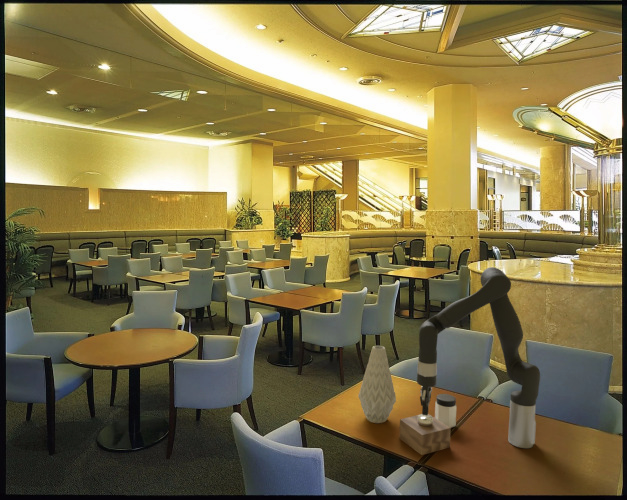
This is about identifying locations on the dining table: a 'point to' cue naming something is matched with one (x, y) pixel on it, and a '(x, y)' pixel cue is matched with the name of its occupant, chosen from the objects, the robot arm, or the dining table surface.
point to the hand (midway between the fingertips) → (425, 414)
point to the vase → (377, 387)
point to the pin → (425, 420)
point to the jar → (446, 409)
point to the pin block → (424, 435)
